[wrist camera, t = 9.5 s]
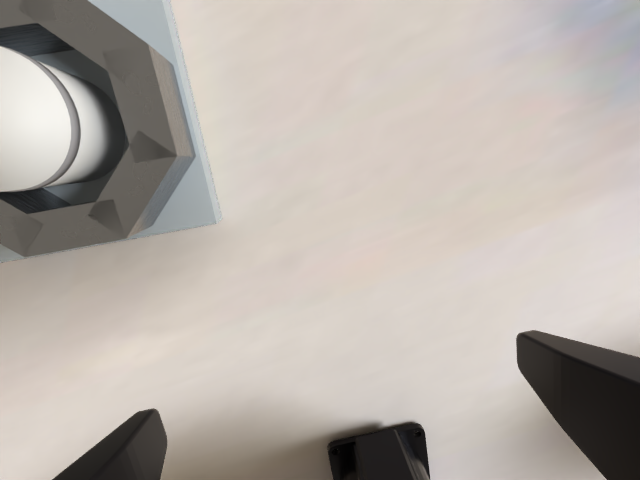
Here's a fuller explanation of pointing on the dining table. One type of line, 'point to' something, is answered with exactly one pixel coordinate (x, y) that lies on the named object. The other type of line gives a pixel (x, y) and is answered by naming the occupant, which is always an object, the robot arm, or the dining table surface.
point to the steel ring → (138, 118)
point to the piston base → (199, 173)
